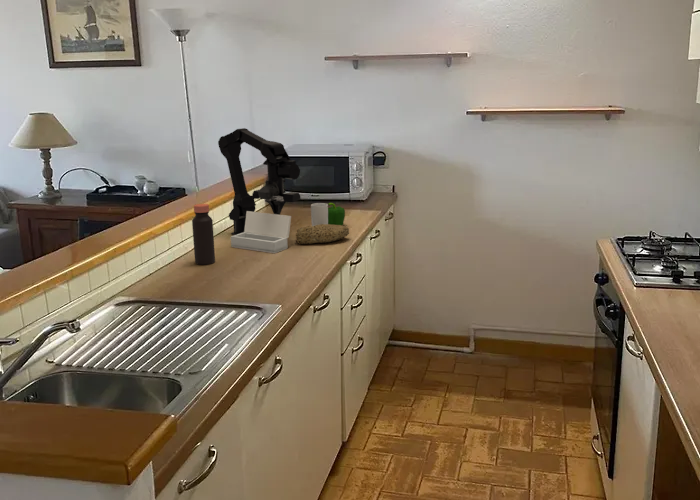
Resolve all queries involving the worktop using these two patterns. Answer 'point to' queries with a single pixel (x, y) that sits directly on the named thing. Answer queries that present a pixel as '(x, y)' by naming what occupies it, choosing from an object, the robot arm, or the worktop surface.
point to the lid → (267, 224)
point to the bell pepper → (335, 215)
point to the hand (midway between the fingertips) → (277, 217)
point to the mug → (319, 213)
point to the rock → (321, 233)
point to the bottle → (203, 235)
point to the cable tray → (259, 242)
